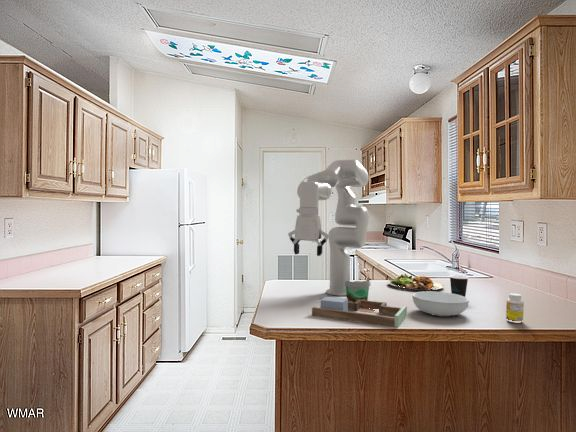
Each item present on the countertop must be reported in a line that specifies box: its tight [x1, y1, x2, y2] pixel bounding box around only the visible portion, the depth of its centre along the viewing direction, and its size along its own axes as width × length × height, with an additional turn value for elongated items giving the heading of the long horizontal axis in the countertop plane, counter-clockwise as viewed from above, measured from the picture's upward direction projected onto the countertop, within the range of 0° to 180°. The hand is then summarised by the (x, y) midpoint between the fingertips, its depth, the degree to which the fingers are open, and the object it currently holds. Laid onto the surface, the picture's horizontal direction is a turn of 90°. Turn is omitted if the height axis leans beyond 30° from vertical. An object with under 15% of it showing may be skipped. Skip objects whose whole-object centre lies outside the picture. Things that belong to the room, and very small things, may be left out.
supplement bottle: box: [505, 293, 525, 321], centre depth 157 cm, size 6×6×10 cm
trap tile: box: [357, 308, 375, 313], centre depth 171 cm, size 5×8×1 cm, turn 64°
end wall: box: [394, 305, 408, 328], centre depth 156 cm, size 16×1×4 cm, turn 154°
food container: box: [344, 278, 372, 303], centre depth 182 cm, size 12×6×10 cm, turn 117°
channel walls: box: [311, 300, 402, 328], centre depth 165 cm, size 22×31×3 cm
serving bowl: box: [412, 290, 470, 317], centre depth 168 cm, size 21×21×7 cm
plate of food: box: [387, 273, 445, 291], centre depth 223 cm, size 28×28×6 cm
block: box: [319, 296, 349, 312], centre depth 167 cm, size 7×9×6 cm
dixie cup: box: [448, 274, 469, 297], centre depth 190 cm, size 8×8×11 cm
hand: (307, 254), depth 171 cm, fingers open, 9 cm apart
